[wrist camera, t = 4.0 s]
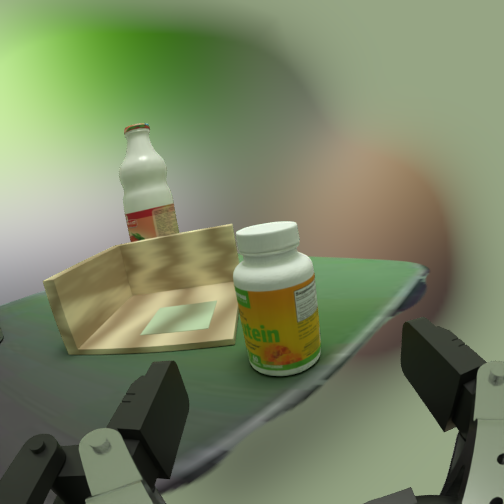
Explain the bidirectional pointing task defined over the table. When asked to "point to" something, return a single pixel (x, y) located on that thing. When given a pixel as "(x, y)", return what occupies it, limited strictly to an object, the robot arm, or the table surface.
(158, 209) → the fruit juice
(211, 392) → the table surface
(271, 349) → the supplement bottle
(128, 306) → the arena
